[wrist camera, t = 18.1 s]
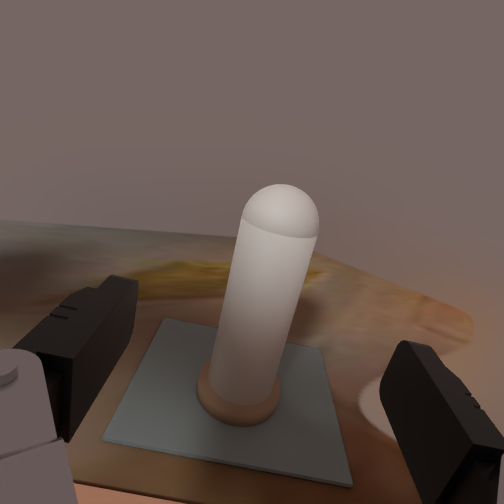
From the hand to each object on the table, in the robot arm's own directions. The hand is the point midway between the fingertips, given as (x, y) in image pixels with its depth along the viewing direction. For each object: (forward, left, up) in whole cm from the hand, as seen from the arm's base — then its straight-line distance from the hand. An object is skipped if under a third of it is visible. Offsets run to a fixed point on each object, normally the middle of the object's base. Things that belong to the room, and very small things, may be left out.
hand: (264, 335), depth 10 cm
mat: (+1, +14, -14) cm, 20 cm away
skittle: (+1, +13, -14) cm, 19 cm away
